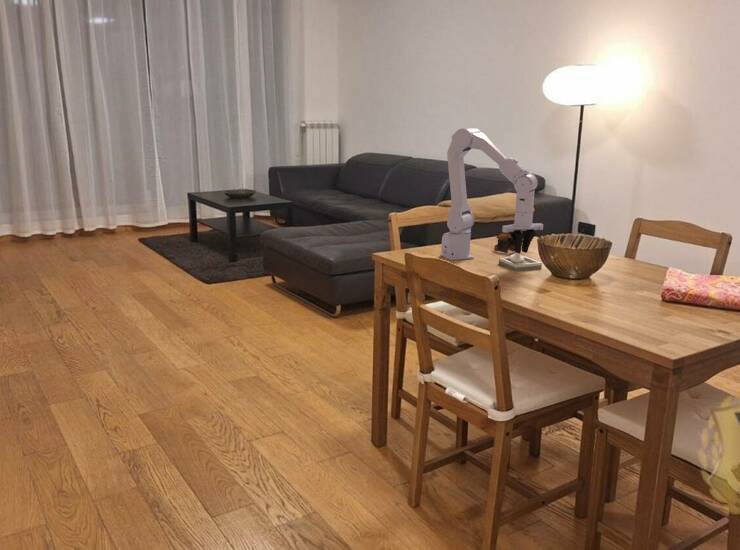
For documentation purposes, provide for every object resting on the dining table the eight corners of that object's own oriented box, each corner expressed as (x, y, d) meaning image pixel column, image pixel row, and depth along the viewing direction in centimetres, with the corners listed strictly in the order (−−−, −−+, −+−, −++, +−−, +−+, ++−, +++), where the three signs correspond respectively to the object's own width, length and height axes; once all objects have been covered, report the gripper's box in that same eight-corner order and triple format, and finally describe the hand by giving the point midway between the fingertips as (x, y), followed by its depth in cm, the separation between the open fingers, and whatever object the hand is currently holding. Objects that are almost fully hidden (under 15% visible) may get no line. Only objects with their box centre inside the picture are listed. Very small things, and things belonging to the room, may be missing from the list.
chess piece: (518, 264, 217) (523, 236, 212) (506, 258, 220) (510, 231, 215) (527, 260, 220) (532, 232, 215) (515, 254, 223) (520, 227, 218)
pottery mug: (486, 250, 242) (493, 230, 243) (506, 260, 245) (512, 239, 247) (507, 249, 231) (513, 227, 232) (527, 259, 235) (533, 237, 236)
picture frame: (515, 271, 212) (515, 265, 211) (498, 263, 220) (499, 258, 220) (541, 268, 215) (541, 262, 215) (523, 261, 224) (524, 255, 224)
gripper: (512, 214, 207) (509, 256, 210) (550, 212, 212) (546, 253, 216) (499, 211, 213) (497, 251, 217) (537, 209, 218) (534, 248, 222)
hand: (521, 252), depth 217 cm, fingers closed on chess piece
